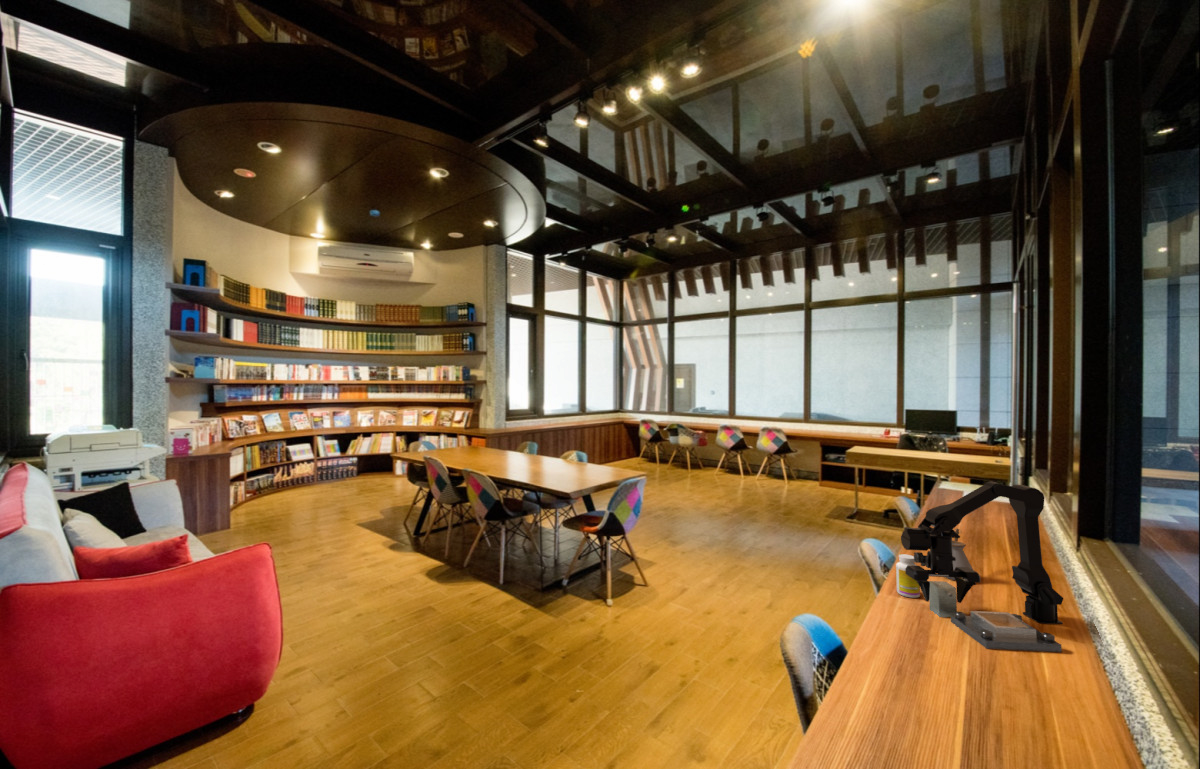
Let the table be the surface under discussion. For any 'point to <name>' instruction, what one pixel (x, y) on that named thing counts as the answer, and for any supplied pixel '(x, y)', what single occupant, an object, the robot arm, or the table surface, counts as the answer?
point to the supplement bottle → (906, 577)
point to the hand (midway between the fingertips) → (943, 601)
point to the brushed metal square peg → (942, 598)
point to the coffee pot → (959, 555)
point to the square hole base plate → (1004, 632)
